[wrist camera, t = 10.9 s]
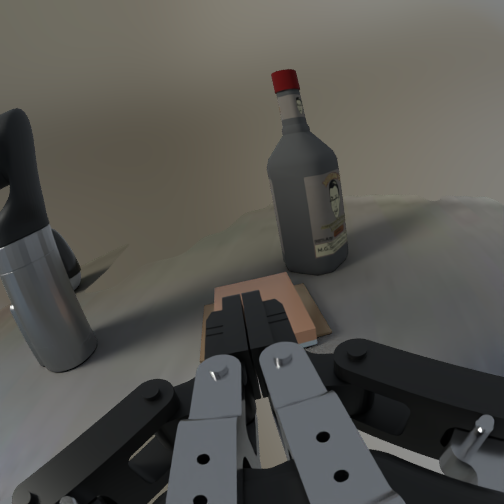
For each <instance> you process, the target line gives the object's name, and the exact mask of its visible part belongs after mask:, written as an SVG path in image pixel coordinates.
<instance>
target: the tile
mask: <svg viewBox="0 0 504 504" xmlns="http://www.w3.org/2000/svg"><path fill="white" fill-rule="evenodd" d="M254 290H259V291H260V295H261V298H262V301H266V300H270V299H276V300H278V301H279V302H280V303H282V304H283V306H284V309H285V311H286V314H287V316H288V320H289V321H290V324H291V326H292V329H293V331H294V334H295V337H296V339H297V342H298V344H299V345H300V346H302V347H303V348H304V347H307V346H311V345H315V344H317V336H316V328H315V326H314V324H313V322H312V320H311V318H310V316H309V314H308V312H307V310H306V308H305V307H304V305H303V303H302V301H301V299H300V297H299V295H298V293H297V291H296V289H295V288H294V286H293V284H292V282H291V280H290V278H289V276H288V274H287V272H283V273H279V274H275V275H270V276H266V277H262V278H257V279H253V280H248V281H244V282H239V283H235V284H230V285H226V286H221V287H216V288H215V294H214V311H219V310H222V297H226V296H231V295H236V294H240V296H241V300H242V295H241V293H245V292H250V291H254ZM242 304H243V301H242ZM243 308H244V307H243Z"/></svg>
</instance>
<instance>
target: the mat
mask: <svg viewBox="0 0 504 504" xmlns="http://www.w3.org/2000/svg"><path fill="white" fill-rule="evenodd" d="M293 286H294V288H295V289H296V291H297V293H298V295H299V297H300V299H301V301H302V303H303V305H304V307H305V308H306V310H307V312H308V314H309V316H310V318H311V320H312V322H313V324H314V326H315V328H316V336H317V337H320V336H324V335H327V334H331V333H332V331H331V329H330V327H329V326H328V324H327V322H326V320H325V319H324V317H323V315H322V314H321V312H320V310H319V309H318V307H317V305H316V304H315V302H314V300H313V299H312V297H311V295H310V294H309V292H308V290H307V289H306V287H305V285H304V284H303V283H302V284H298V285H293ZM211 312H214V303H213V304H209V305H204V315H203V326H202V339H201V352H200V362H201V363H202V362H203V361H204V356H205V337H206V336H205V331H206V319H207V318H208V316H209V315H210V313H211Z"/></svg>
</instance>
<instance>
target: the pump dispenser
mask: <svg viewBox="0 0 504 504" xmlns="http://www.w3.org/2000/svg"><path fill="white" fill-rule="evenodd" d="M51 231H52V234H53V237H54V240H55V243H56V246H57V248H58V251H59V254H60V257H61V260H62V262H63V265H64V268H65V270H66V273H67V275H68V278H69V280H70V283H71V285H72V288H73V290H75V289H76V288H77V287H78V286H79V284H80V281H81V273H80V270H81V268H80V265H79V263H78V261H77V259H76V257H75V255H74V253H73V252H72V250H71V248H70V247H69V246H68V244H67V242H66V241H65V240H64V239H63V237H62V236H61V235H60V234H59V233H58V232H57V231H56V230H54V229H51Z"/></svg>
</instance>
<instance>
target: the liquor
mask: <svg viewBox="0 0 504 504" xmlns="http://www.w3.org/2000/svg"><path fill="white" fill-rule="evenodd" d="M271 76H272V81H273V85H274V90H275V93H276V94H277V99H278V103H279V109H280V113H281V119H282V125H283V129H282V133H283V136H282V138H281V139H280V141H279V143H278V144H277V146H276V148H275V149H274V151H273V153H272V155H271V156H270V158H269V159H268V164H267V172H268V177H269V181H270V187H271V193H272V198H273V203H274V209H275V214H276V220H277V225H278V231H279V237H280V242H281V248H282V254H283V260H284V262H285V264H286V266H287V268H288V269H289V270H290V271H291V272H298V273H305V274H312V275H321V274H325V273H329V272H333V271H334V270H335V269H336V268H337V267H338V266H339V265H340V264H341V263H342V262H343V261H344V260H345V259H346V257H347V254H348V244H347V233H346V223H345V214H344V205H343V197H342V190H341V183H340V175H339V168H338V162H337V158H336V155H335V154H334V152H333V150H331V149H330V148H329V147H328V146H327V145H326V144H325V143H323V142H322V141H321V140H320V139H319V138H317V137H316V136H315V135H314V134H312V133H311V132H310V129H309V126H308V125H307V123H306V118H305V114H304V109H303V105H302V101H301V96H300V92H299V90H300V87H299V83H298V79H297V75H296V71H295V70H292V69H287V70H281V71H276V72H274V73H272V74H271Z"/></svg>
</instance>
